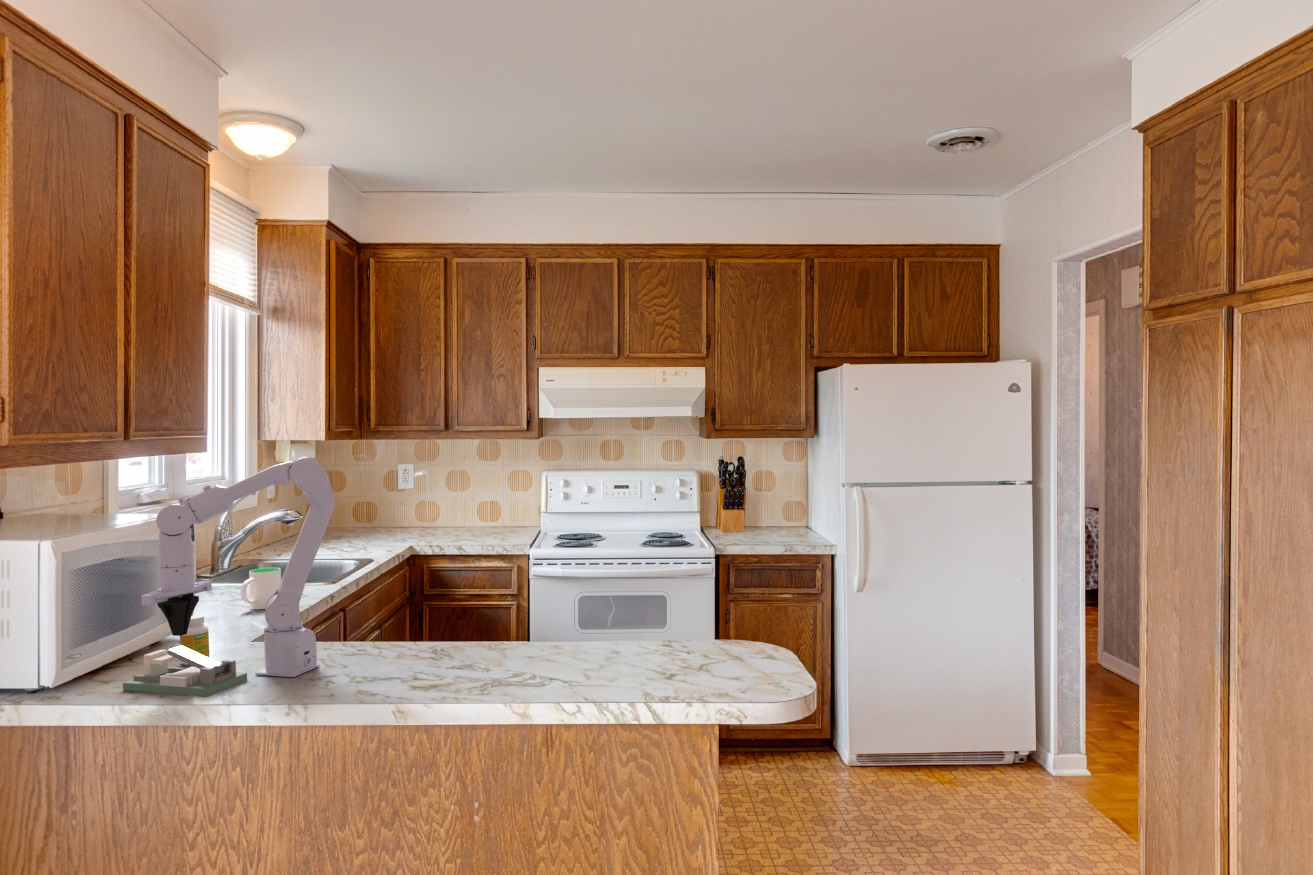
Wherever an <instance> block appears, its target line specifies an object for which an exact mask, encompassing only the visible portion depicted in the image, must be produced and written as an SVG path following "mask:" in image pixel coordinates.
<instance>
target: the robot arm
mask: <svg viewBox="0 0 1313 875" xmlns="http://www.w3.org/2000/svg"><path fill="white" fill-rule="evenodd" d="M289 481H291V482H292V483H293V484H294V486H295V487H297V488H298V489H299V490H301V492H302V493H303V494H304V497H305V498H306V500H307V502H308V504H309V508H308V510H307V513H306V516H305V518H304V521H303V523H302V525H301V529H300V531H299V533H298V536H297V538H296V539H297V540H296V541H295V544H294V547H293V550H292V552H291V554H290V557H289V559H288V562H287V565H286V568H285V570H284V573H283V575H282V577H281V582H280V584H279V586H278V589H277V591H276V592H275V593H274V594H273V595H272V596H271V597H270V598H269V599H268V601H267V604H266V609H265V613H264V615H265V616H264V618H265V622H266V625H264V627H263V640H264V642H263V643H264V661H265V662H264V664H265V665H264V666H265V668H262V669H260V670H258V671H255V673H254V674H255V675H259V676H269V677H270V676H271V677H273V676H274V677H284V678H295V677H297V676H300V675H302V674H305V673H307V672H310V671H311V670H314V669H316V668H318V667H320V666H321V665H320V663H318V658H317V657H318V654H317V638H316V634H315V632H314V630H312V629H311V628H306V627H304V625H303V621H302V620H300V615H301V614H300V613H301V610H300V603H301V599H302V596H303V591H304V589H305V585H306V582H307V580H308V577H309V575H310V572H311V569H312V567H313V565H314V562H315V558H316V556H317V554H318V552H319V548H320V546H321V543H322V541H323V539H324V535H325V533H326V532H327V531H326V530H327V527H328V526H329V522H330V520H331V517H332V514H333V512H334V509H335V507H336V499H335V496H334V492H333V488H332V485H331V484H332V483H331V482H330V477H329V473H328V472H327V470H325V468H324V466H322V464H321V462H319V461H318V460H317V459H316V458H314V457H311V456H301V457H299V458H297V459H295V460H294V461H293V460H288V461H285V462H282V463H278V464H275V465H272V466H270V467H268V468H266V469H264V470H262V471H258V472H257V473H255V474H253V475H250V476H248V477H246V478H244V479H242V480H240V481H238V482H236V483H234V484H232V485H229V486H227V487H225V486H222V485H221V484H214V485H213V486H211V484H207V485H205V486H203V487H202V489H203V490H201V491H199V492H197V493H194V494H192V495H190V496H188V497H184V496H182V497H179V498H178V499H177V500H178V503H172V504H169V505H167V506H165V507H163V508H162V509H160V511H159V512H158V513H157V516H156V519H155V523H156V527H157V528H158V529H159V535H158V539H159V544H158V551H159V552H158V555H159V556H158V557H159V575H160V576H159V577H160V578H159V579H160V587H159V588H158V589H157V590H154V591H151V592H148V593H146V594H142V595H141V606H142V607H143V606H144V607H145V606H147V607H151V606H154V605H157V607H158V608H159V609H160V611H161V612H162V613H163V616H165V618H166V621H167V623H168V626H169V629H170V631H171V634H172V636H173V637H174V636H175V637H177V636H178V637H180V636H182V635H185V634H187V631H188V627H189V623H190V619H191V616H193V614H194V610H195V609H196V607H197V604H198V603H199V601H200V596H199V595H195V594H199V593H203V592H210V591H212V590H213V589H212V588H213V585H212V580H201V581H197V582H196V581H195V567H194V564H195V563H194V562H195V561H194V541H193V540H192V529H191V528H192V527H191V526H192V525H201V524H203V523H205V522H207V521H209V520H212V519H214V518H216V517H218V516H220V515H222V514H224V513H227V512H229V511H231V509H232V507H233V504H234V502H235V501H238V500H240V499H243V498H244V497H247V496H250V495H252V494H254V493H257V492H260V491H262V490H264V489H266V488H269V487H271V486H274V485H275V486H290V482H289ZM190 527H191V528H190Z"/></svg>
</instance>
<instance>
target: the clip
mask: <svg viewBox="0 0 1313 875" xmlns="http://www.w3.org/2000/svg"><path fill="white" fill-rule="evenodd" d="M177 660H178V659H177V658H175V657H173V656H170V655H168V649H159V650H156V651H152V652H149V653H146V654H144V655H143V670H144V671H143V672H144V674H143V675H146V676H159V675H162V674H165V673H168V667H169V666H168V664H169V663H171V662H174V661H177Z"/></svg>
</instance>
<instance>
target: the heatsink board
mask: <svg viewBox="0 0 1313 875" xmlns="http://www.w3.org/2000/svg"><path fill="white" fill-rule="evenodd" d="M225 662H226V663H228V665H229V670H228V671H227V672H224V673H222V674H219V675H216V676H215V670H214V668H201V669H198V668H196V667H194V666H190V667H186V668H185V667H174V666H168V673H165V674H162V675H159V676H146V675H144V674H135V675H133V676H132V677H133V679H129V680H126V681H124V682H122V691H125V692H126V691H127V692H138V693H139V692H140V693H151V694H163V695H164V694H165V695H174V696H175V695H178V696H191V697H199V698H200V697H203V698H204V697H205V698H209V697H210V696H213V695H215V694H218V693H220V692H222V691H225V690H227V689H230V688H232V687H235V686H237V685H240V684H241V683H244V682H247V681H248V673H247V672H242V671H241V672H239V671H237V669H236V668H237V665H236V664H237V662H236V660H234V659H224V660H221V662H220V663H221V664H222V663H225Z"/></svg>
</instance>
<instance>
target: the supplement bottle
mask: <svg viewBox="0 0 1313 875" xmlns="http://www.w3.org/2000/svg"><path fill="white" fill-rule="evenodd" d="M204 623H205V616H204V615H202V614H197V615H192V616H191V619H190V623H189V627H188V631H187V634H185V635H182V636H179V646H181V645H182V646H184V647H186V648H189V649H191V650H193V651H195V652H197V653H199V654H202V655H204V656H206V657H208V658H210V638H209V637H210V636H209V627H208V626H207V625H205V624H204ZM180 664H182V665H184V666H191V665H190V664H188V663H185V662H183V661H181V660H180Z"/></svg>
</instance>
